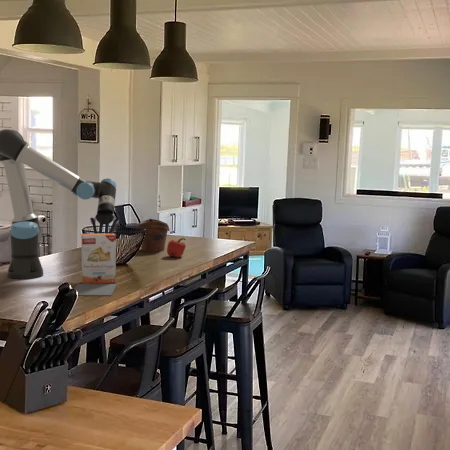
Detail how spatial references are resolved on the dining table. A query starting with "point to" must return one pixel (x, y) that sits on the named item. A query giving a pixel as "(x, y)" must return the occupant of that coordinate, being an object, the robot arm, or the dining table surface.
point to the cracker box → (98, 258)
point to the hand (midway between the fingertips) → (101, 249)
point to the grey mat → (95, 289)
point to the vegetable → (176, 248)
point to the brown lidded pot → (154, 235)
